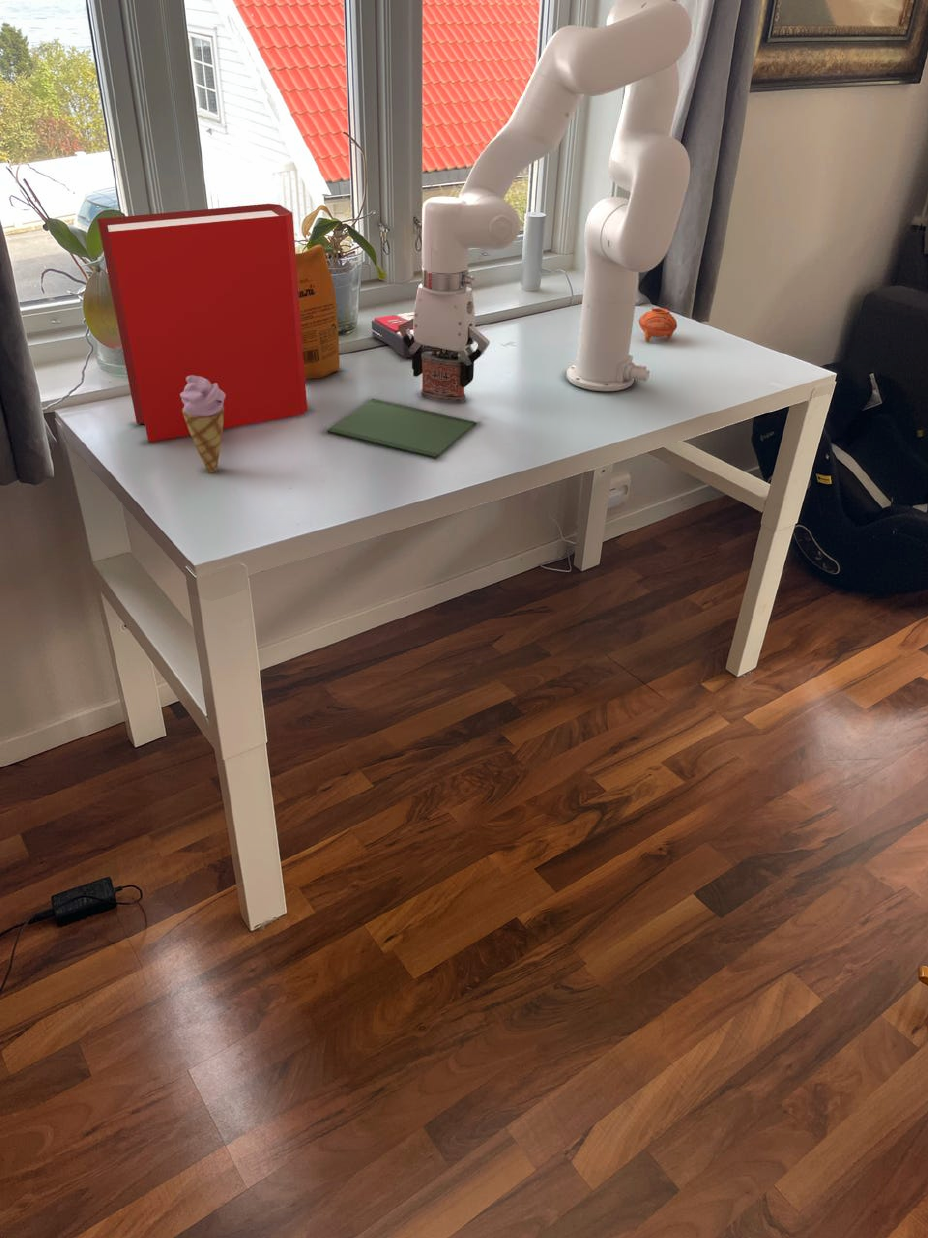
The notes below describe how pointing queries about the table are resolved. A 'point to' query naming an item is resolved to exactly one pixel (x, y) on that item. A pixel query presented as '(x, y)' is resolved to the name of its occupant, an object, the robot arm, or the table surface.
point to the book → (208, 312)
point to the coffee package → (317, 314)
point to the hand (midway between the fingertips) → (442, 378)
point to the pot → (657, 323)
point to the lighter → (442, 375)
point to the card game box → (394, 332)
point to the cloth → (403, 428)
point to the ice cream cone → (204, 418)
